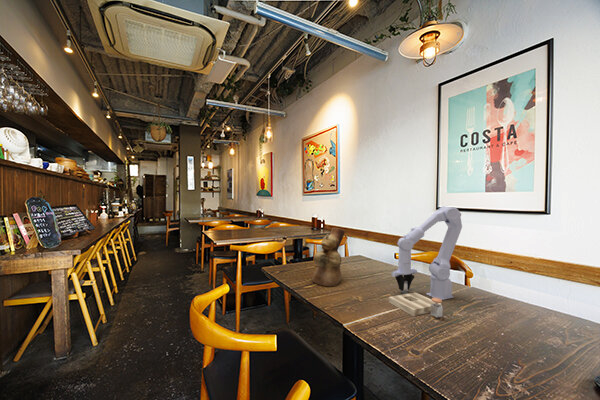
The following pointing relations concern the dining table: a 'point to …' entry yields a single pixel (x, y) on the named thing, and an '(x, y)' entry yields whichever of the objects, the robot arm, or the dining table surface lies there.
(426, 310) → the block
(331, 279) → the ceramic vessel
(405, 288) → the steel pin
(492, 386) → the dining table surface
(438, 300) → the cap
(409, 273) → the robot arm
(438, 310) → the plunger housing
